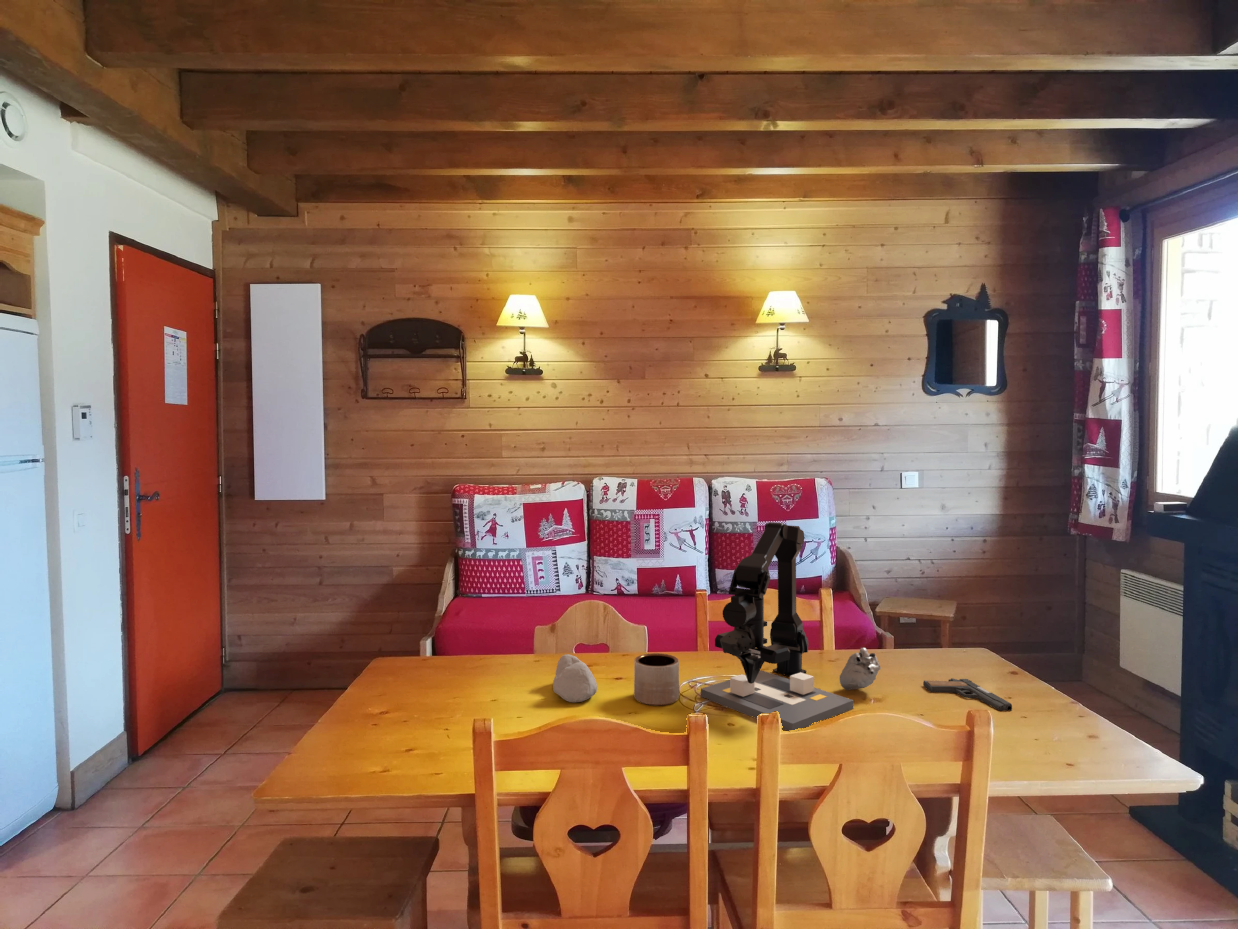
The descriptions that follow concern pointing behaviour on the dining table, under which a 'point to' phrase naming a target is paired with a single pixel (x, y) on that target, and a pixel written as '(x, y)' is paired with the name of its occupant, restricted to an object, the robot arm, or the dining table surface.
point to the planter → (656, 679)
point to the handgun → (968, 692)
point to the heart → (859, 670)
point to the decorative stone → (573, 680)
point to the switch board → (780, 701)
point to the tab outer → (741, 685)
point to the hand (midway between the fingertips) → (751, 683)
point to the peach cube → (802, 683)
